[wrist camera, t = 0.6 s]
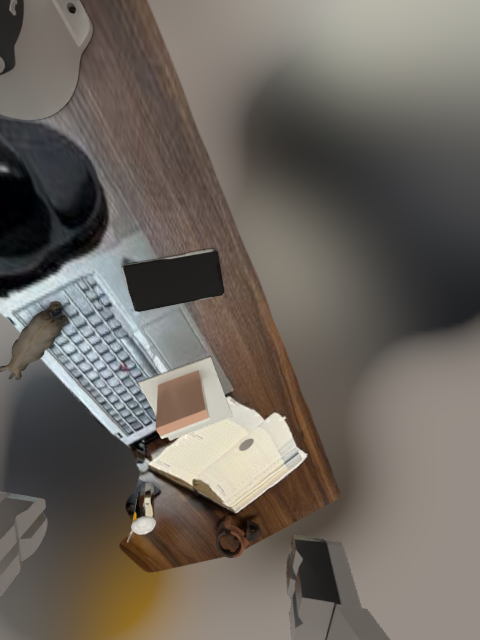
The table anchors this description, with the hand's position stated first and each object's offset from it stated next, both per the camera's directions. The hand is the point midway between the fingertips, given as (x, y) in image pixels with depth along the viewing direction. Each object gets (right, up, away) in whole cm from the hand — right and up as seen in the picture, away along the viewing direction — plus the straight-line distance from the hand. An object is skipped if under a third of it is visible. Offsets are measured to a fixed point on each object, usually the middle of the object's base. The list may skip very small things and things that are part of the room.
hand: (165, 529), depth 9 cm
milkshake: (-19, -31, +53) cm, 64 cm away
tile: (-9, -5, +43) cm, 44 cm away
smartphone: (-8, +14, +36) cm, 40 cm away
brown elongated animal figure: (-29, +4, +34) cm, 45 cm away
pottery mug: (+1, -49, +66) cm, 82 cm away
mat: (-8, -9, +46) cm, 47 cm away
